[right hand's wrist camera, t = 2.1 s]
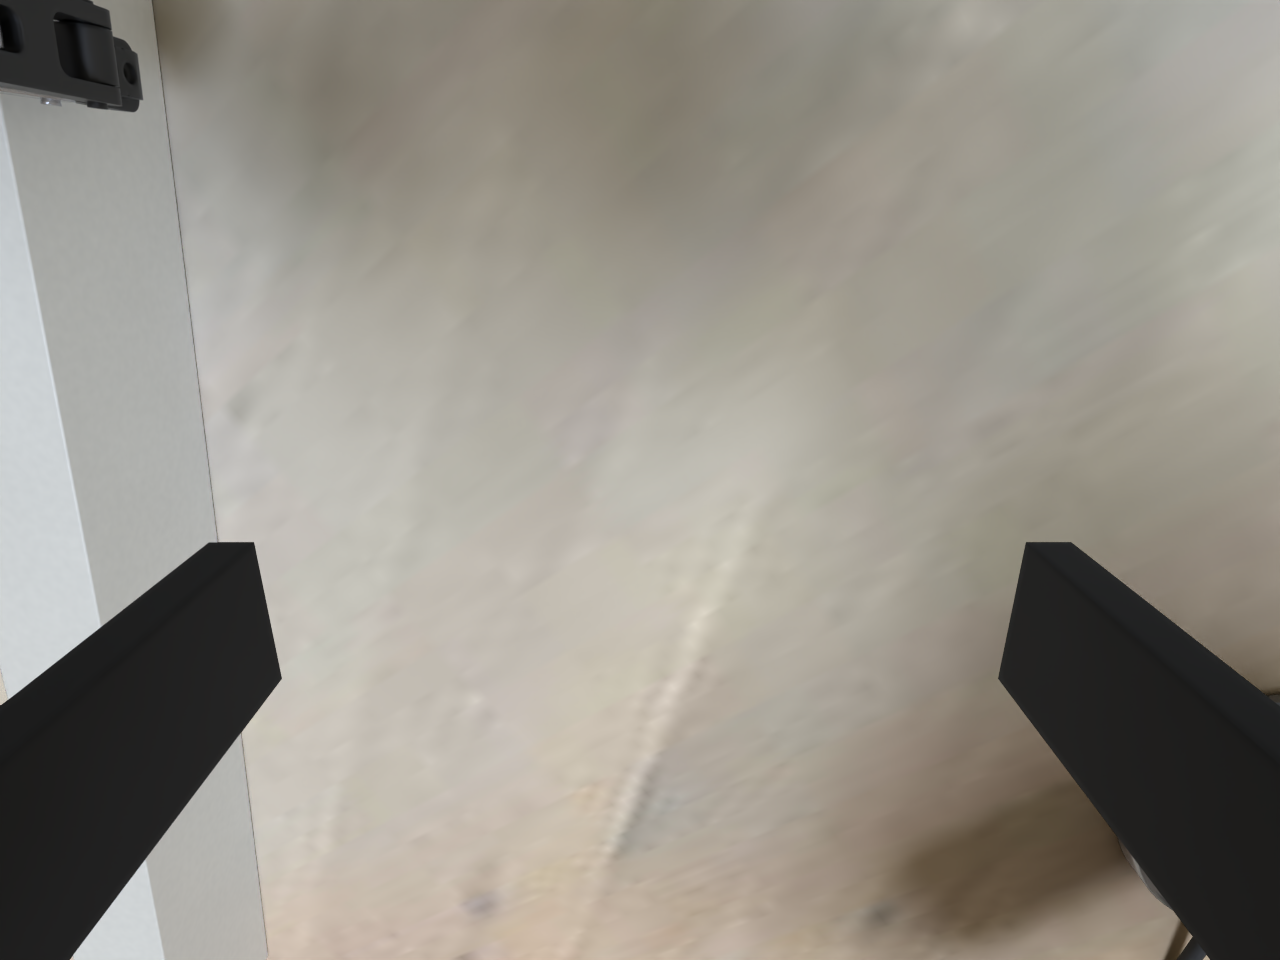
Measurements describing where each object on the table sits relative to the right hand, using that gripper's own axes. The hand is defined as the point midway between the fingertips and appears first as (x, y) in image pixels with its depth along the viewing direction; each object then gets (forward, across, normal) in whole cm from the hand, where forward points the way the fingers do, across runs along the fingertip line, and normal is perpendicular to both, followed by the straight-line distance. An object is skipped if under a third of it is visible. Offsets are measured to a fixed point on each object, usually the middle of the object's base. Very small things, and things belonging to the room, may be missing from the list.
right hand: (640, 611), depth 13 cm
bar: (+23, +24, +11) cm, 35 cm away
